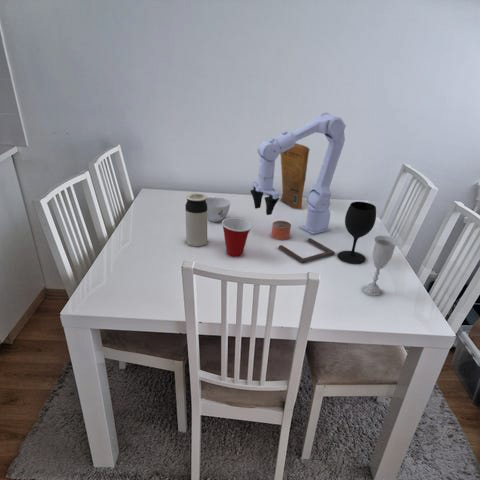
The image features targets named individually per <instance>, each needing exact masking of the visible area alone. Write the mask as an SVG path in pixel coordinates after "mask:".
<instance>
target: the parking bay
mask: <svg viewBox="0 0 480 480" xmlns="http://www.w3.org/2000/svg"><path fill="white" fill-rule="evenodd" d="M306 241H307V242H308V243H309V244H311V245H313V246H314V247H316V248H318V249H320V250H321V251H323V252H321V253H318V254H314V255H310V256H306V257H301V256H300V255H299V254H296V253H295V252H294V251H292V250H291V249H289V248H287V247H286V246H284V245H283V244H280V245H278V250H279V251H280V252H281V251H282V253H284V254H286V255H287V256H289V257H290V258H291V259H293V260H295V261H297V262H298V263H300V264H302V265H303V264H306V263H310V262H314V261H316V260H321V259H323V258H328V257H332V256H333V255H334V256H335V253H336V252H335V251H334V250H332V249H331V248H329V247H327V246H325V245H324V244H322V243H320V242H318V241H316V240H315V239H313V238H311V237H309V238H307V239H306Z"/></svg>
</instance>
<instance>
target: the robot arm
mask: <svg viewBox="0 0 480 480" xmlns="http://www.w3.org/2000/svg"><path fill="white" fill-rule="evenodd" d="M346 127H347V126H346V124H345V122H344V120H343V119H342V118H341V117H339V116H335V115H332V114H330V113H328V112H324V113H321V114H320V115H316V117H314V118H313V119H311V120H310V121H309V122H307V123H305V124H304V125H302V126H300V127H299V128H297V129H295V130H294V131H292V132H291V131H290V130H287V131H286V130H283V131H282V132H281V134H280V135H277V136H276V137H272V138H270V139H269V140H265V141H262V142H260V145H259V146H258V148H257V154H258V155H259V163H258V177H257V181H255V182H252V183H251V188H252V189H250V190H249V191H250V194H251V196H252V199H253V205H254V209H255V210H256V209H260V208H261V207H262V206H261V205H262V200H263V196H264V194H265V195H267V196H265V197H264V201H265V214H266V216H271V215H272V214H273V211H274V209H275V206H276V205H277V203H278V202H279V200H280V195H279V194H280V193H279V192H278V191H276V190H275V189H274V177H275V167H276V160H277V159H278V157H279V155H280V154H281V153H282V152H284V151H286V150H288V149H290V148H292V147H294V146H295V143H296V144H297V142H298V141H300V140H302V139H305V138H307V137H309V136H311V135H313V134H315V133H316V134H317V133H319V134H323V136H325V138H326V139H327V142H328V145H327V148H326V151H325V153H324V157H323V160H322V164H321V167H320V170H319V173H318V176H317V180H316V183H314V184H313V185H312V186H311V188H310V190H309V192H308V193H307V195H306V198H305V199H306V202H307V204H308V205H307V213H306V219H305V224H304V225H301V226H300V228H301V229H303V230H305V231H306V232H308V233H309V234H312V235H316V234H319V233H323V232H328V231H330V228H329V224H330V220H331V219H330V218H331V211H330V209H329V208H330V205H331V196H332V191H331V189H330V186H331V185H332V184H331V183H332V181H333V178H334V175H335V171H336V170H337V169H336V168H337V166H338V163H339V159H340V157H341V154H342V151H343V148H344V144H345V141H346V135H345V129H346Z"/></svg>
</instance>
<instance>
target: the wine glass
mask: <svg viewBox="0 0 480 480" xmlns="http://www.w3.org/2000/svg"><path fill="white" fill-rule="evenodd" d="M376 219H377V207H376V205H374V204H373V203H370V202H366V201H352V202H351V203H350V204H349V206H348V208H347V211H346V213H345V217H344V226H345V229H346V230H347V233H348V234H349V235H350V236H351V237H353V242H352V247H351V250H341V251H339V252H338V253H337V258H338V259H339V260H340V261H342V262H343V263H346V264H350V265H361V264H364V263H365V262H366V260H367V259H366V257H365V255H364V254H362V253H360V252H358V251H355V250H356V246H357V243H358V240H359V239H360V238H363V237H364V236H366V235H368V234H369V233H370V232H371V231H372V229H373V228H374V226H375V224H376Z"/></svg>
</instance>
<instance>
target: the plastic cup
mask: <svg viewBox="0 0 480 480" xmlns="http://www.w3.org/2000/svg"><path fill="white" fill-rule="evenodd" d="M221 225H222V229H223V235H224V236H223V237H224V243H225V249H226V250H225V251H226V255H227V256H228V257H232V258H239V257H241V256H242V255H243V254H244V250H245V247H246V243H247V239H248V235H249V233H250V230H251V229H252V227H253V225H252V223H251V222H250V221H248V220H246V219H243V218H239V217H227V218H223V219H222V220H221Z"/></svg>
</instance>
